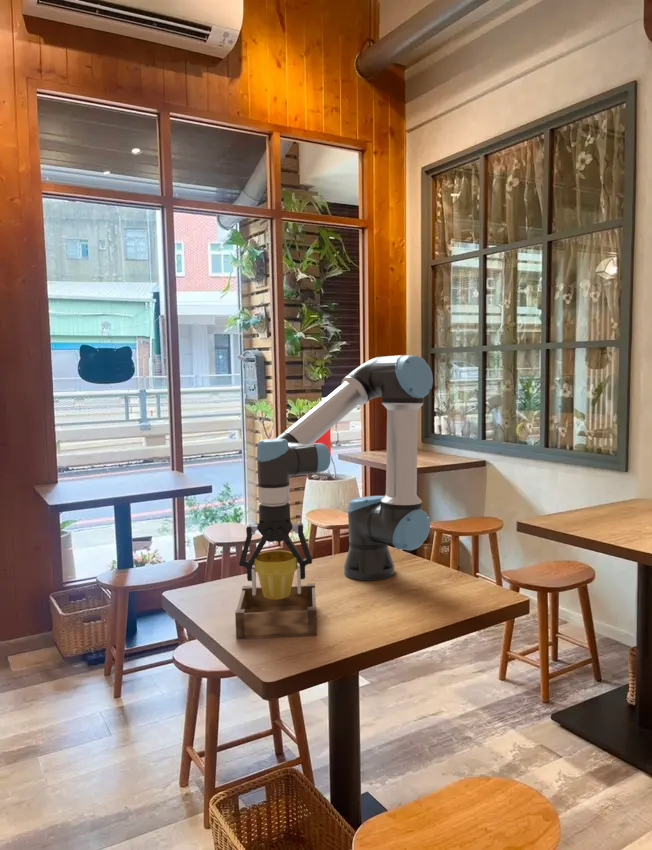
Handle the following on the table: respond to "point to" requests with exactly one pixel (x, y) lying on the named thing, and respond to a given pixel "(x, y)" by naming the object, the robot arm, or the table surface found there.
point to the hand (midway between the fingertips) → (276, 592)
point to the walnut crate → (276, 614)
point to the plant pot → (276, 573)
